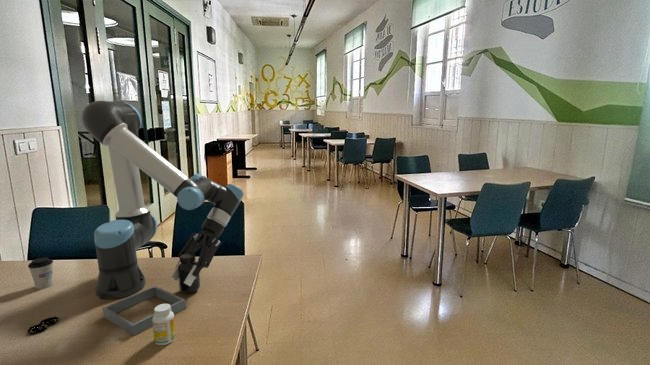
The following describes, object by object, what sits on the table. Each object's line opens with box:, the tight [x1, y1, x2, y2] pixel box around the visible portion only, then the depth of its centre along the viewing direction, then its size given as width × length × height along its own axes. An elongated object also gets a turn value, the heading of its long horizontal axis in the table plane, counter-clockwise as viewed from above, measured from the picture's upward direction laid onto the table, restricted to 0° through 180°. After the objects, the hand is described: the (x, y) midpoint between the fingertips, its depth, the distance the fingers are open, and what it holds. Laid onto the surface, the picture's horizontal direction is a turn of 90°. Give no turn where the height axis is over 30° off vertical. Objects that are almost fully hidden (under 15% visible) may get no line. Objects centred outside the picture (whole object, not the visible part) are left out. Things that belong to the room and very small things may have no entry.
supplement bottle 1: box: [152, 303, 177, 346], centre depth 94 cm, size 5×5×10 cm
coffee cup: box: [27, 256, 54, 290], centre depth 123 cm, size 7×7×10 cm
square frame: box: [102, 285, 187, 336], centre depth 107 cm, size 17×17×3 cm
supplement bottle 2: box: [177, 253, 201, 294], centre depth 119 cm, size 7×7×12 cm
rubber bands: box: [27, 316, 59, 335], centre depth 101 cm, size 5×8×1 cm, turn 169°
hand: (180, 281), depth 117 cm, fingers closed on supplement bottle 2, 7 cm apart
